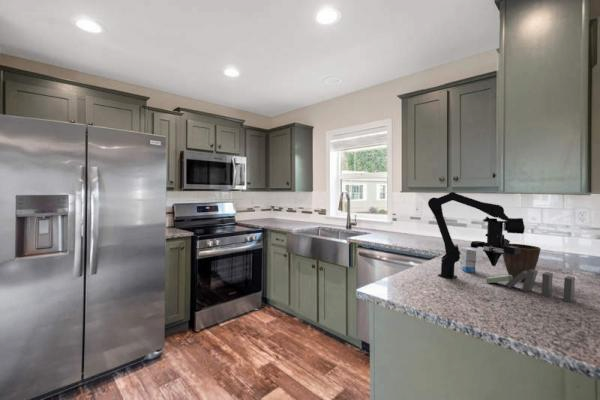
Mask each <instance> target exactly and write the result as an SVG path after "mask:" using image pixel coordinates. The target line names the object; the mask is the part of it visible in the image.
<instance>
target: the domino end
mask: <svg viewBox="0 0 600 400" xmlns="http://www.w3.org/2000/svg"><path fill="white" fill-rule="evenodd" d="M575 280H576V277H575V276H569V275H567V276H566V277H565V276H564V280H563V281H564V282H563V302H564V301H565V303H568V302H569V304H572V303H573V302H574V301H575V283H576V281H575ZM572 301H573V302H572Z"/></svg>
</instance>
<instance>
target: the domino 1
mask: <svg viewBox="0 0 600 400" xmlns="http://www.w3.org/2000/svg"><path fill="white" fill-rule="evenodd" d="M527 273H528V271H527V270H525V271H523V272H521V273H520V274H518V275H517V276H516V277H514V278H513V279H512V280H510V281H507V282H505V284H504V285H505V286H506V287H507V288H508V289H512V288H513V287H515V286H516V285H517V284H519V283H520V282H523V281H522V280H523V279H524V278H526V276H527Z"/></svg>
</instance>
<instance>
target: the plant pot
mask: <svg viewBox="0 0 600 400" xmlns="http://www.w3.org/2000/svg"><path fill="white" fill-rule="evenodd" d="M509 246H515V247H519V248H520V249H521V254H515V255H513V254H507V253H504V254H502V257H503V263H504V265H505V266H504V267H505V269H506V271H507V274H508V275H512V277H513V278H514V277H516V276H517V275H518V274H520V273H521V272H523V271H525V270H527V271H528V270H531V269H534V270H536V267H537V264H538V262H539V258H540V254H541V249H542V248H541V247H539V246H536V245H529V244H521V243H509ZM502 247H503V246H502ZM525 279H526V278H524V279H523V280H522V281H521V282H525Z"/></svg>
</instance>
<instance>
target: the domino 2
mask: <svg viewBox="0 0 600 400" xmlns="http://www.w3.org/2000/svg"><path fill="white" fill-rule="evenodd" d="M538 272H539V270H536V269H535V270H534V269H531V270H528V273H527V276H526V279H525V281H523V282H524V283H523V286H522V289H521V291H523V292H525V293H527V294H528V293H530V292H532V290H533V287H534V284H535V282H536V279H537V276H538Z"/></svg>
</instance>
